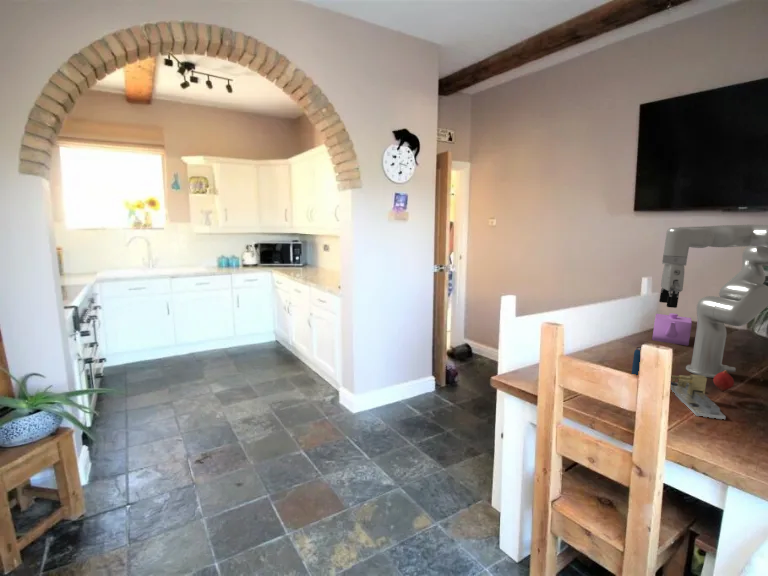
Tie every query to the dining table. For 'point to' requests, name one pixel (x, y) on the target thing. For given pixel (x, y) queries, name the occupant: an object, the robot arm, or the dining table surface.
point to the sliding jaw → (695, 383)
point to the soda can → (636, 361)
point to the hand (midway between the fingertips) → (667, 304)
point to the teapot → (672, 329)
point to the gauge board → (695, 400)
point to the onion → (723, 380)
